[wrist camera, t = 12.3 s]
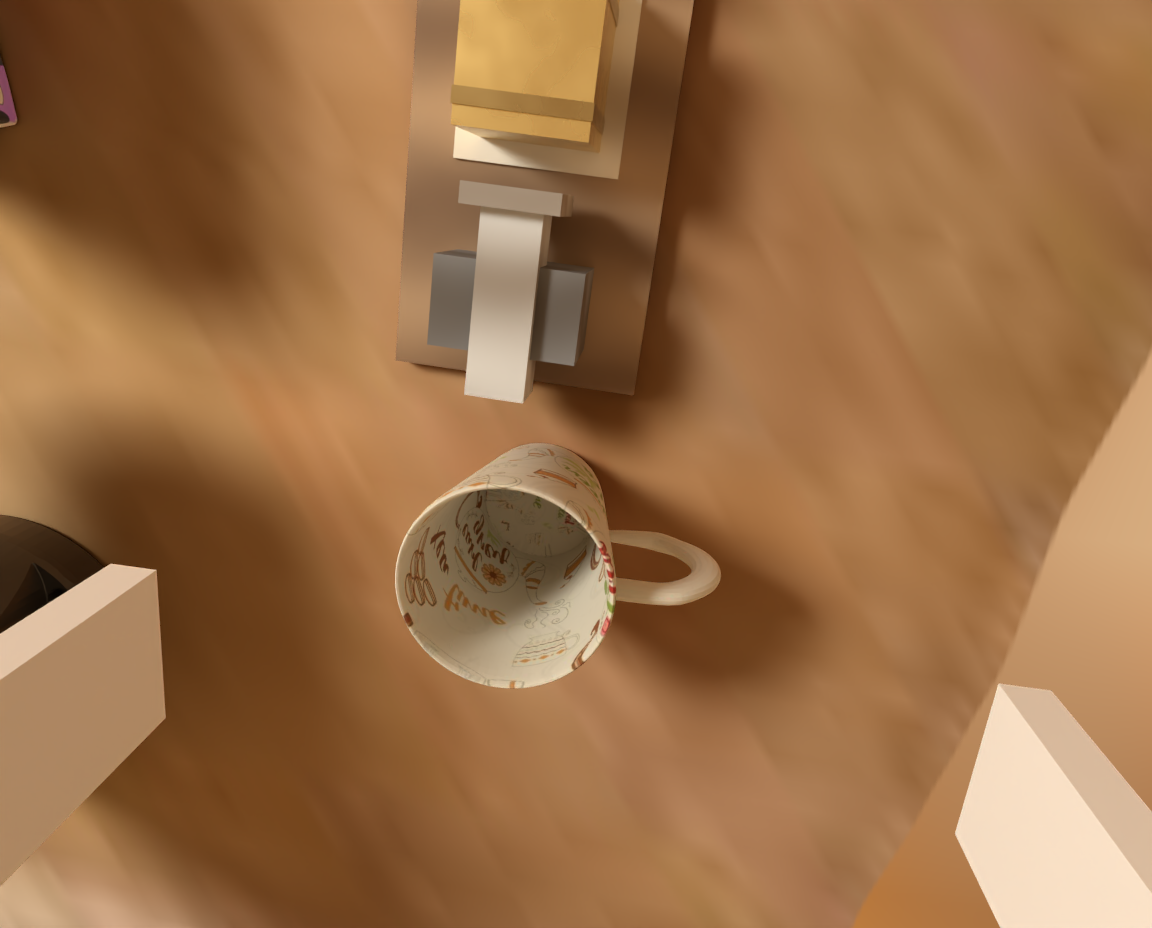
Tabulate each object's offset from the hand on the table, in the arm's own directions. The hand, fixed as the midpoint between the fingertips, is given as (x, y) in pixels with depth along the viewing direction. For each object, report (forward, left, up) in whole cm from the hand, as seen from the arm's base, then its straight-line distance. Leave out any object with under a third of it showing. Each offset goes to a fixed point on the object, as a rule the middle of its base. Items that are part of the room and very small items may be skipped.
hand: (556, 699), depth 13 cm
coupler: (-5, +13, -25) cm, 28 cm away
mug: (-1, -6, -26) cm, 27 cm away
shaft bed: (-5, +13, -26) cm, 29 cm away
